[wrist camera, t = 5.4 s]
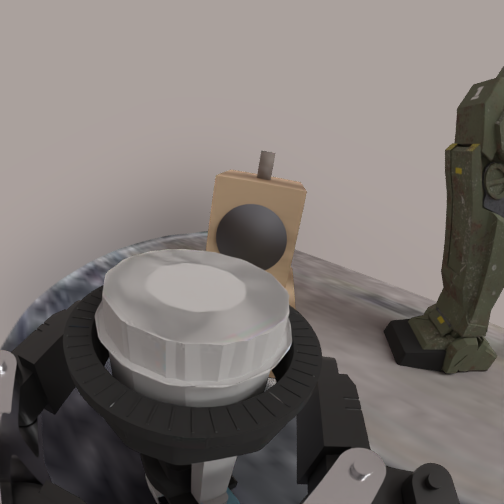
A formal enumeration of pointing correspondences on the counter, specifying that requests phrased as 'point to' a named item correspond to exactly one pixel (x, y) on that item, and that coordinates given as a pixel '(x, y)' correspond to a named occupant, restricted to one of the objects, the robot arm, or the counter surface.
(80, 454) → the counter surface
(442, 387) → the counter surface
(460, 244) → the mechanical leg
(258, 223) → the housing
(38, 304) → the counter surface
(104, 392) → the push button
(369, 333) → the counter surface
